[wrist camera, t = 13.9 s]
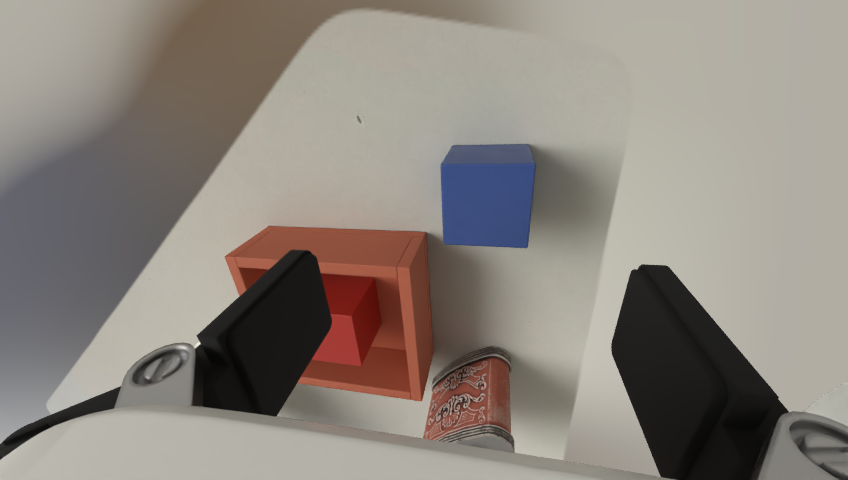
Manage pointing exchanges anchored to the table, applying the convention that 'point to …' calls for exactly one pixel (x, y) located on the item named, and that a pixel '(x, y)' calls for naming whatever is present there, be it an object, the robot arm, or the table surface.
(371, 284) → the red block
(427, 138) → the table surface
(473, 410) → the lighter
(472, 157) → the blue block
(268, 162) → the table surface
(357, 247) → the terracotta bin
